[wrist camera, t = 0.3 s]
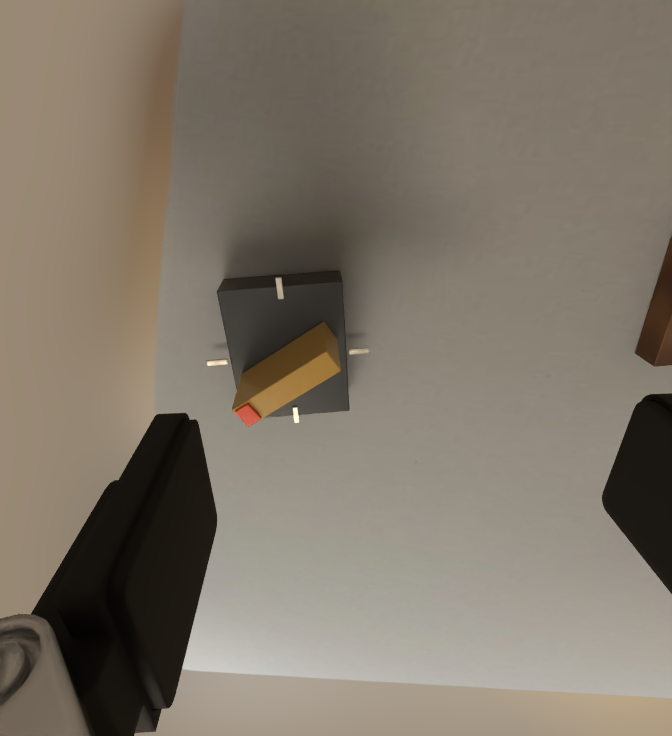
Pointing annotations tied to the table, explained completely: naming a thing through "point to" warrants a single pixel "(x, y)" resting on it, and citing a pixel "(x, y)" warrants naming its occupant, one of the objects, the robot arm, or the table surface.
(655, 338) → the button block
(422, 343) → the table surface
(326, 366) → the yellow block
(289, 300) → the panel
